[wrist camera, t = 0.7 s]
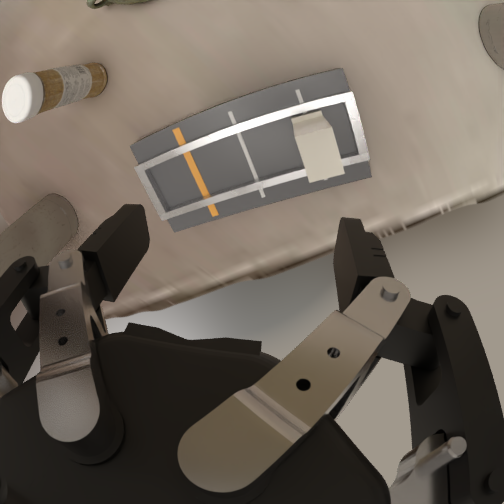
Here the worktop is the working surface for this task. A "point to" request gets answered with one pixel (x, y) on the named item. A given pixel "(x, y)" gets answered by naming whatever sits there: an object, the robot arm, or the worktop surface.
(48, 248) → the thermos bottle
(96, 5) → the vessel
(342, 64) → the worktop surface
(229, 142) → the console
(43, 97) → the sprinkles bottle
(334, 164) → the block
